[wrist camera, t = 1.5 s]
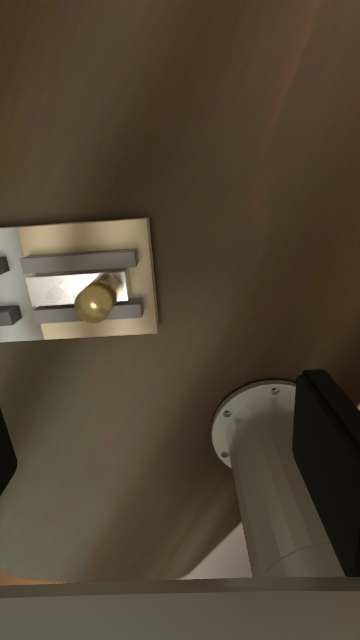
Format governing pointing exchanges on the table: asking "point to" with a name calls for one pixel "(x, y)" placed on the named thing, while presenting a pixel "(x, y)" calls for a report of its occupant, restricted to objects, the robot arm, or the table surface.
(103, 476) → the table surface
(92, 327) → the lock board
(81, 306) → the bolt
